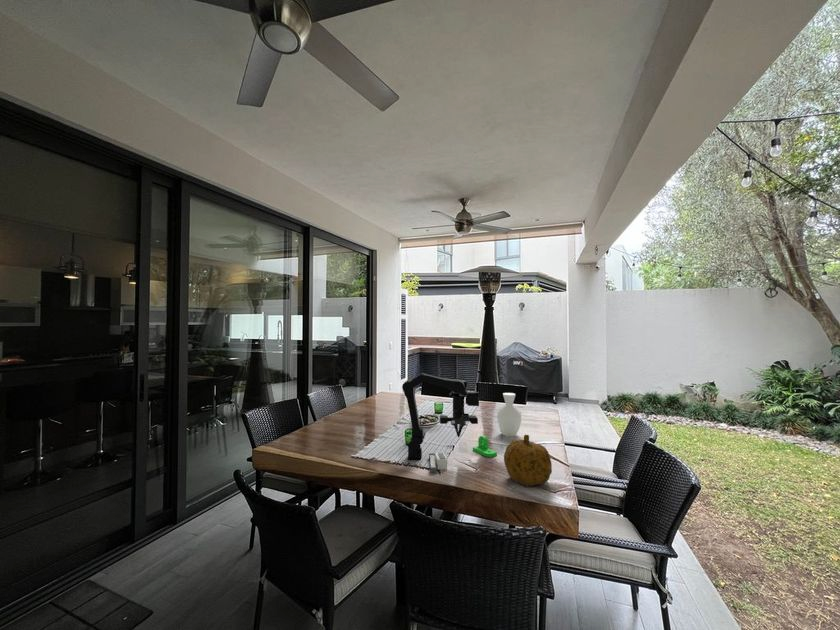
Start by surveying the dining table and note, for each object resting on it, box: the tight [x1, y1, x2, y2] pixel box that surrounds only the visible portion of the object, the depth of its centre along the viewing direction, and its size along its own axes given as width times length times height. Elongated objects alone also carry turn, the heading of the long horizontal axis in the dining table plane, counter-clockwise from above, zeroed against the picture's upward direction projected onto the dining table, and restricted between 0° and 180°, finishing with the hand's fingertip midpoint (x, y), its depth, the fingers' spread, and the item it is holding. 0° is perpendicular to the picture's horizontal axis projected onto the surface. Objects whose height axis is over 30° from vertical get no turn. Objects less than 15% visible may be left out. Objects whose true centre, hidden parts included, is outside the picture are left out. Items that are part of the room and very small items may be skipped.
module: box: [434, 452, 448, 470], centre depth 169 cm, size 5×8×5 cm, turn 7°
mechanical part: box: [472, 435, 498, 458], centre depth 187 cm, size 12×6×8 cm, turn 33°
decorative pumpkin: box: [503, 434, 553, 487], centre depth 154 cm, size 20×21×20 cm
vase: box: [496, 392, 522, 437], centre depth 218 cm, size 14×14×25 cm
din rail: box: [428, 452, 438, 475], centre depth 169 cm, size 3×18×3 cm, turn 0°
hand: (458, 436), depth 176 cm, fingers closed
